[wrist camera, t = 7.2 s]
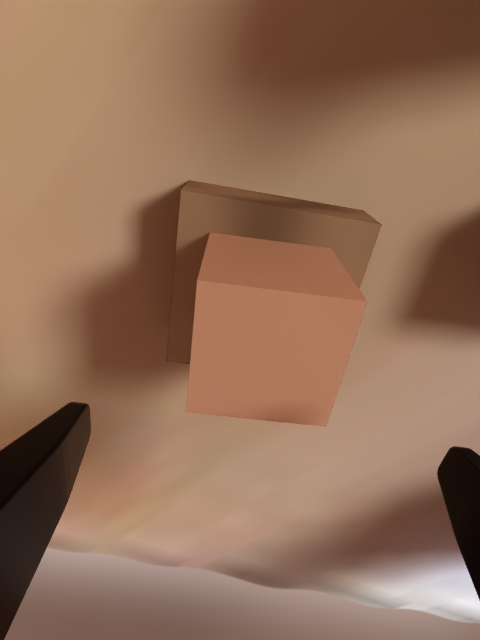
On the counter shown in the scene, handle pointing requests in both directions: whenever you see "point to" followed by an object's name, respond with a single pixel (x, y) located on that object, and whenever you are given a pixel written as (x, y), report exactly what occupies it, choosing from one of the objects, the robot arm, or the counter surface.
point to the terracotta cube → (271, 330)
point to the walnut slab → (261, 223)
